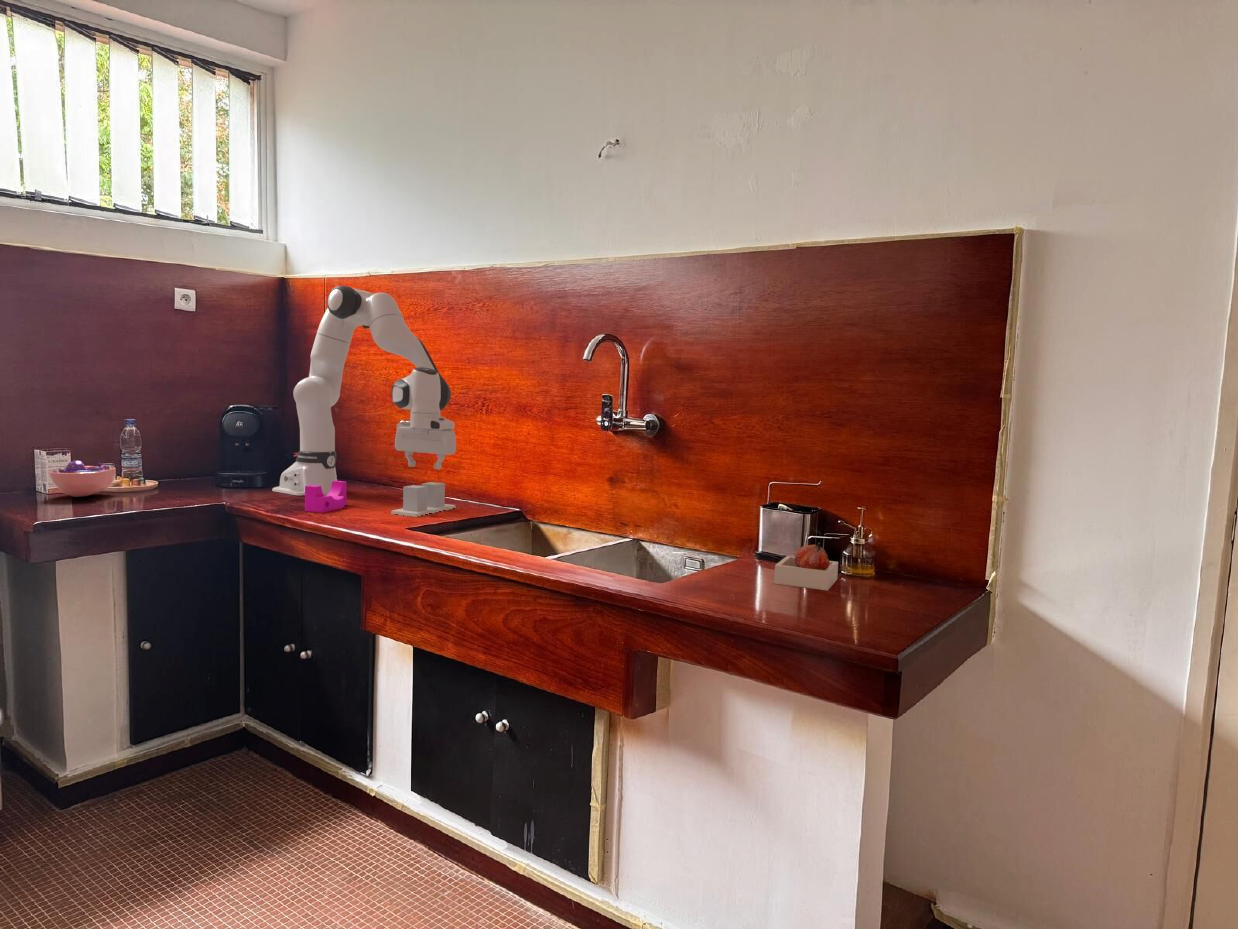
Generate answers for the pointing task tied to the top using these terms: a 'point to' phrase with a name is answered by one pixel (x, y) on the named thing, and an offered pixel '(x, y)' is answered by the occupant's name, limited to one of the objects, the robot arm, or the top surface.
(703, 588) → the top surface
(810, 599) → the top surface
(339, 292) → the robot arm
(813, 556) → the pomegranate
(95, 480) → the cell model
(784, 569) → the fruit dish
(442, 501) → the base
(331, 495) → the toy block
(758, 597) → the top surface
